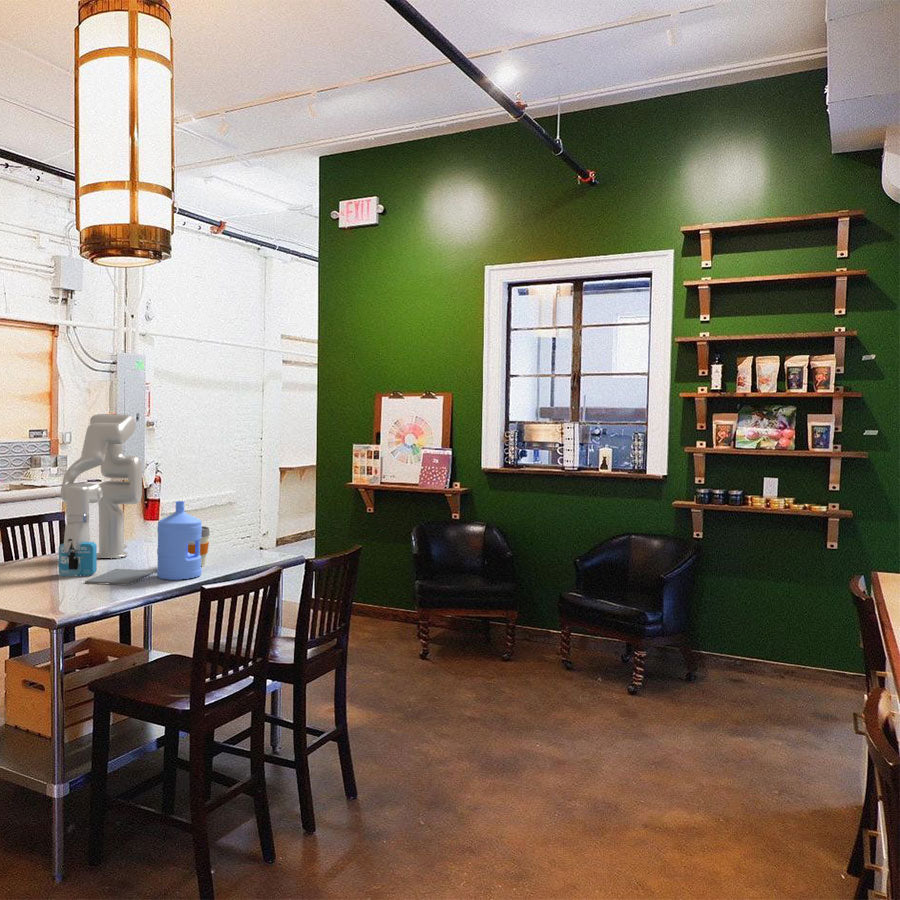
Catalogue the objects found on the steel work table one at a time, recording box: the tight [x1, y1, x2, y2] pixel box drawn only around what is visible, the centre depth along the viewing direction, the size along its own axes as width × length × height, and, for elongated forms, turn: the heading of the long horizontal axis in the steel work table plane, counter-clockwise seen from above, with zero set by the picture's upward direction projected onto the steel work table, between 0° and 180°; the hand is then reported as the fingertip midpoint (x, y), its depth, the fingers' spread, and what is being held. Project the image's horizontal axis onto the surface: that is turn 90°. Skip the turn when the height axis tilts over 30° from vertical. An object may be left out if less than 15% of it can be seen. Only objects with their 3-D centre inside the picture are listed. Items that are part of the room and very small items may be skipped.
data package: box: [58, 541, 98, 577], centre depth 284 cm, size 12×4×12 cm, turn 98°
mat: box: [84, 568, 158, 585], centre depth 281 cm, size 22×16×1 cm
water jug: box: [156, 500, 203, 581], centre depth 285 cm, size 16×16×28 cm
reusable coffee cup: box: [188, 525, 210, 567], centre depth 305 cm, size 13×13×15 cm
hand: (77, 567), depth 284 cm, fingers closed on data package, 5 cm apart
